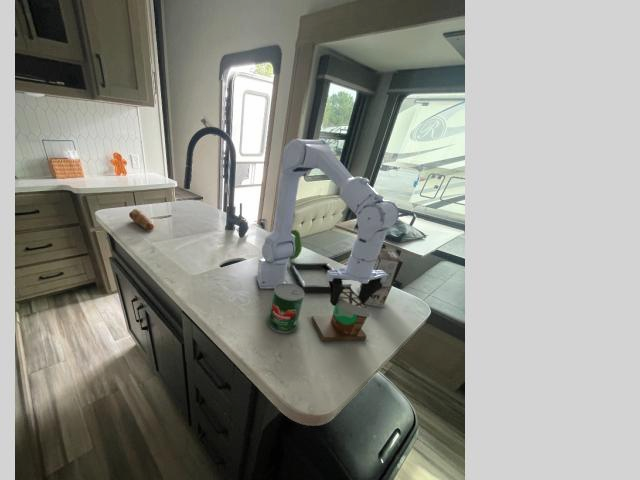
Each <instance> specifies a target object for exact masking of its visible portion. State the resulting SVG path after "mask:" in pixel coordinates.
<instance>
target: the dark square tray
mask: <svg viewBox="0 0 640 480" xmlns="http://www.w3.org/2000/svg"><path fill="white" fill-rule="evenodd" d="M328 270H334V269H333V267H332V266H331V265H330V264H329V262H290V263H289V272H290V273H291V274H292V277H293V279H294V280H295V282H296V284H297V286H299V287H300V288H302V289H303V291H304V294H330V286H329V284H306V283H305V281H304V279H303V277H302V276H301V275H300V273H299V271H325V272H326V273H327V271H328ZM342 285H346V283H344V280H342Z"/></svg>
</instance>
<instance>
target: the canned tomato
mask: <svg viewBox="0 0 640 480" xmlns="http://www.w3.org/2000/svg"><path fill="white" fill-rule="evenodd" d="M304 297H305V293H304V291H303V289H302V288H300V287H299V286H298V285H296V284H294V283H289V282H288V283H286V282H285V283H283V284H279V285H277V286H276V287H275V288H274V289H273V295H272V302H271V306H270V312H269V318H268V325H269V327H270V328H271V329H272V330H274V331H276V332H278V333H284V334H289V333H292V332H294V331H295V330H296V329H297V326H298V322H299V317H300V314H301V310H302V306H303V301H304Z"/></svg>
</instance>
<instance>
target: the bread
mask: <svg viewBox="0 0 640 480" xmlns="http://www.w3.org/2000/svg"><path fill="white" fill-rule="evenodd" d="M128 215H129V218H130V219H131V220H132V221H133V222H134V223H136V224H137V225H139V226H140V227H142V228H143V229H145V230H146V231H148V232H149V231H150V232H152V231H153V230H154V229H155V226H154V224H153V223H152V221H150V219H149V218H148V217H147V216H146V215H145V214H144V213H143V212H142V211H141V210H140V209H138V208H134V209H133V210H131V211H130V212H129V214H128Z"/></svg>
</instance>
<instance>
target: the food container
mask: <svg viewBox="0 0 640 480" xmlns="http://www.w3.org/2000/svg"><path fill="white" fill-rule="evenodd" d="M343 286H344V287H345V288H344V289H343V291H342V292H341V294H340V296H339V298H338V301H337V304H336V305H335V306H333V311H332V314H331V315H332V319H331V324H332V326H333V327H334V328H335V329H336V330H337V331H338V332H340V333H342V334H344V335H347V336H352V337H357V335H358V333H359V331H360V330H361V329H362V328H363V326H364V324H365V322H366V320H367V318H370V317H371V312H372V308H369V307H368V308H367V307H366V304H363V302H362V301H361V299H360V297H359V294H357V293H356V292H355V291H354V290H353V289H352V283H348V284H347V283H345V285H343Z"/></svg>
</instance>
